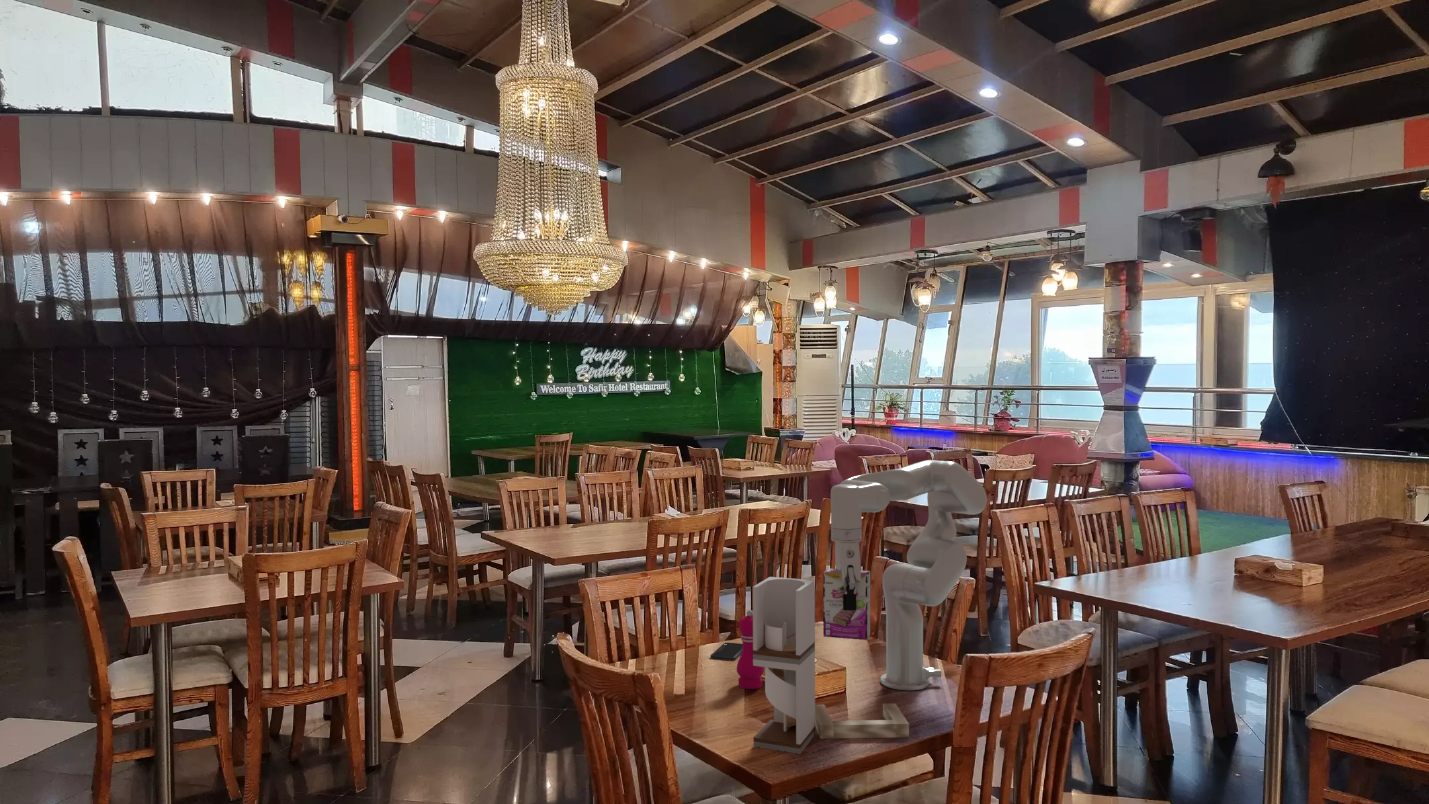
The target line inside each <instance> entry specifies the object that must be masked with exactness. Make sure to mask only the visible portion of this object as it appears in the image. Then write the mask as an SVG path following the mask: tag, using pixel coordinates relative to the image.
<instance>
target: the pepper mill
mask: <svg viewBox="0 0 1429 804" xmlns="http://www.w3.org/2000/svg"><path fill="white" fill-rule="evenodd" d="M738 629H739V631H740V632H741V634H740V640H741V641H742V644H743V650H742V654H741V656H740V657H739V658H738V661H737V664H736V672H737V674H738V676H739V677H738V687H739V688H741V689H745V690H757V689H760V688H762V686H763V679H762V675H763V674H764V672H765V667H761V666H753V609H752V610H751V609H748V610H747V611H746V615H744V616H743V617H741V619H740V620H739V622H738Z"/></svg>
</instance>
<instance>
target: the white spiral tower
mask: <svg viewBox="0 0 1429 804" xmlns="http://www.w3.org/2000/svg"><path fill="white" fill-rule="evenodd" d="M815 584H816V582H815V580H814V579H803V578H802V579H801V578H791V577H789V578H788V577H776V576H769V577H767V578H765V579H764V580H762V581H760V582H759V583H757V584H755V585H754V586H752V611H753V666H761V667H764V672H765V673H764V682H765V683H764V689H765V690H764V691H765V696H766V697H765V698H767V701H768V702H769V703H770V704H771V705H772V706H773V719H769V720H768V721H767V722H766V724H764V726H763V727H761V729H760V730H758V732H757V733H756V734H755V735H754V736H753V746H755V747H754V748H758V747H762V748H761V749H764V750H771V749H774V750H773V751H777V750H779V751H778V752H784V751H787V752H786V753H790V752H791V754H796V753H797V754H796V755H801V754H802V753H803V752H804V750H805V749H806V747H808V745H809V744H810V742H811V741H812V740H813V738H814V737H815V735H816V727H815V705H816V652H815V651H816V638H815V637H816V626H815V625H816V607H815V606H816V604H815V603H816V602H815V601H816V597H815V595H816V593H815V591H816V589H815V587H816V586H815Z"/></svg>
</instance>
